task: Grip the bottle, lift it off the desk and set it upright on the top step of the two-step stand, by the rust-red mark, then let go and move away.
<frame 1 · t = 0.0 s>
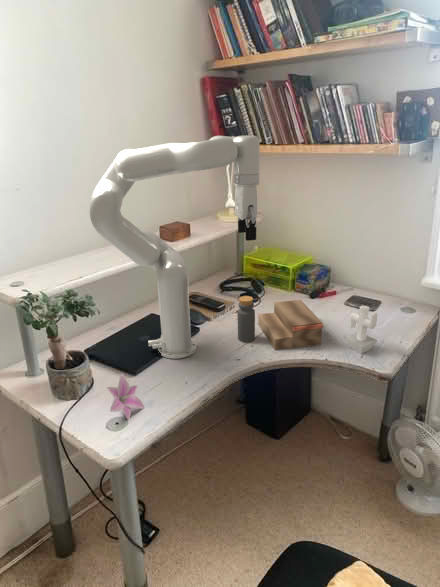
hand: (246, 236, 141), 37 cm above the table, tool pointing down, fingers open, 9 cm apart
lily: (125, 411, 121), on the table
bottle: (246, 339, 157), on the table
step stand: (288, 333, 159), on the table
figurine: (360, 349, 148), on the table
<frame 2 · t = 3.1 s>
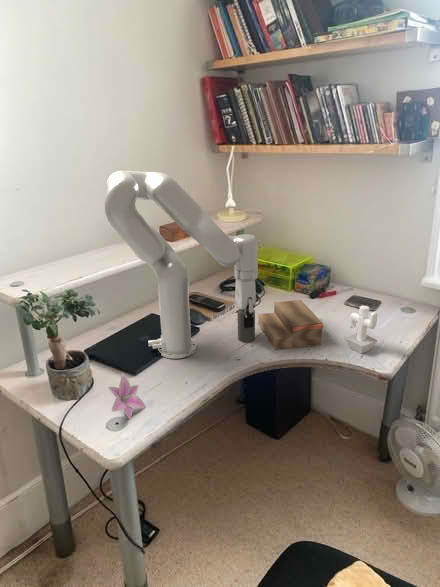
hand: (246, 322, 155), 6 cm above the table, tool pointing down, fingers closed on bottle, 5 cm apart
bottle: (246, 339, 157), on the table, touching gripper
everything else where it was.
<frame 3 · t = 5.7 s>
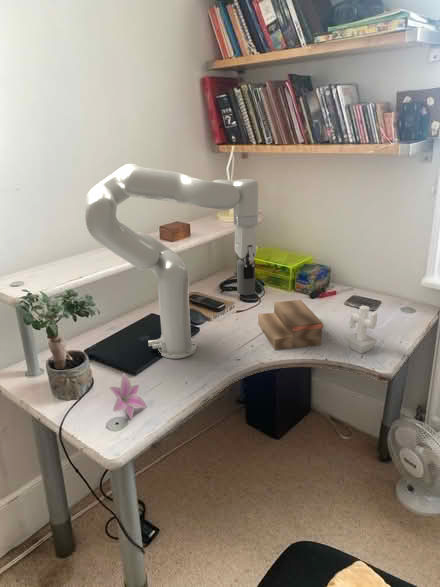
hand: (246, 274, 148), 23 cm above the table, tool pointing down, fingers closed on bottle, 5 cm apart
bottle: (246, 292, 151), point 17 cm above the table, touching gripper
everything else where it was.
when the fingers open (15 cm above the table, at t = 8.8 s): bottle drops 1 cm, resting on step stand.
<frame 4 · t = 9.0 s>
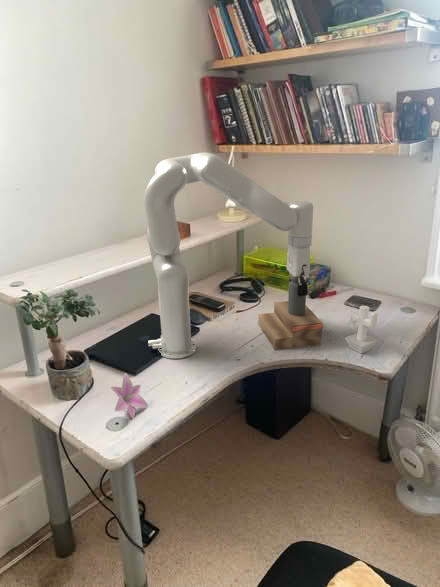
hand: (297, 290, 154), 16 cm above the table, tool pointing down, fingers open, 7 cm apart
bottle: (296, 312, 157), point 8 cm above the table, touching step stand
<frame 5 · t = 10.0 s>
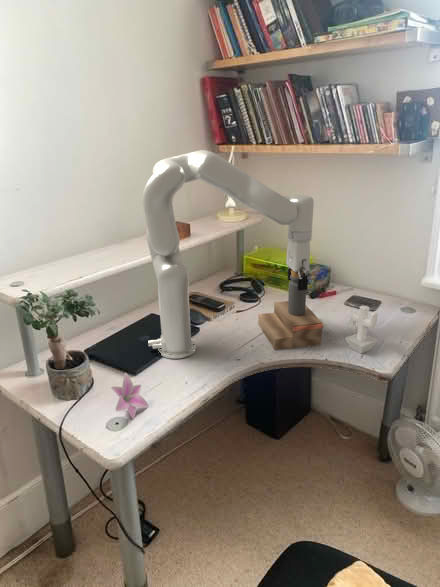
hand: (297, 284, 153), 18 cm above the table, tool pointing down, fingers open, 9 cm apart
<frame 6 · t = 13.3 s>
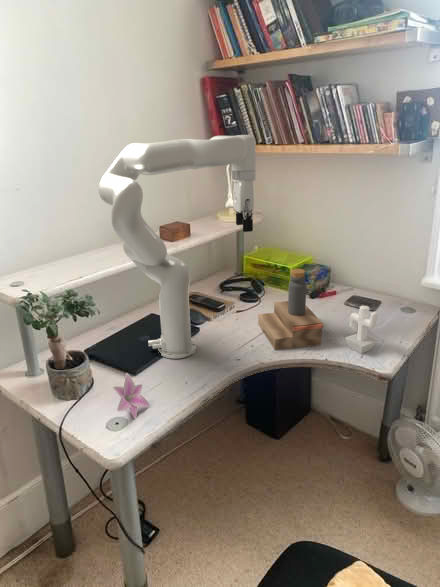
hand: (244, 228, 153), 36 cm above the table, tool pointing down, fingers open, 9 cm apart
at the end: bottle inside the target area on the step stand (0.2 cm from its centre), point 7.8 cm above the step stand's base; bottle tilted 0°; the gripper is holding nothing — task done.
